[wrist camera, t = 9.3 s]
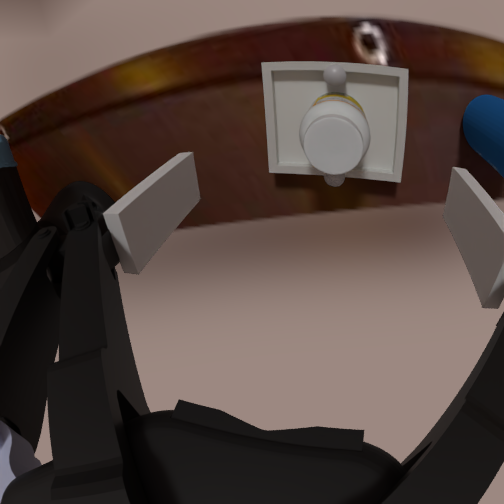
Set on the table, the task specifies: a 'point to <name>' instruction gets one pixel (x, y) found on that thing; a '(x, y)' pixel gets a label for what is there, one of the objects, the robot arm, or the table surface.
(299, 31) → the table surface
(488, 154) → the beverage can
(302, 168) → the tray
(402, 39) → the table surface
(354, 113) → the supplement bottle
